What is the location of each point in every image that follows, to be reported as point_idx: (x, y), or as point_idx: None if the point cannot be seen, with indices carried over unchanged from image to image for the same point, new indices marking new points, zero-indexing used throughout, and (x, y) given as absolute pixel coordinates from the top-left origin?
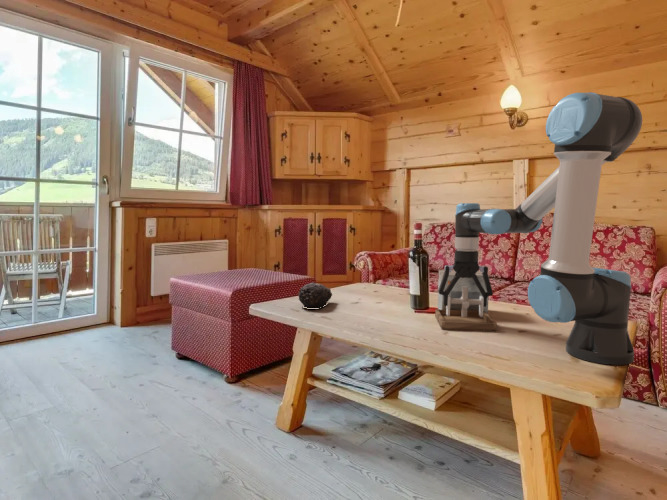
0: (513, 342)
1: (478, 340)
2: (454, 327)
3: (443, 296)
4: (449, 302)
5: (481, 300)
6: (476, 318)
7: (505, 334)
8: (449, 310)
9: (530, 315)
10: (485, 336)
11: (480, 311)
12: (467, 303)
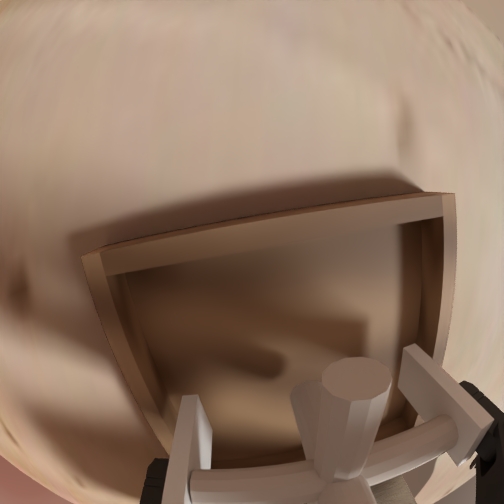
0: (61, 75)
1: (227, 30)
2: (374, 198)
3: (408, 497)
4: (459, 399)
5: (182, 496)
6: (227, 438)
7: (68, 202)
8: (425, 365)
9: (66, 471)
10: (177, 110)
11: (198, 429)
12: (353, 394)
